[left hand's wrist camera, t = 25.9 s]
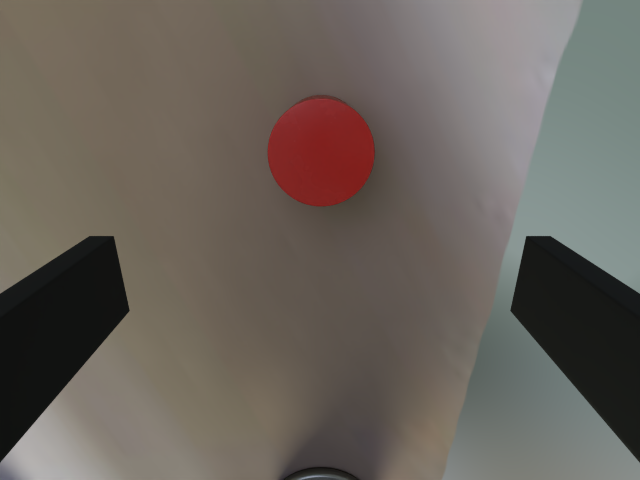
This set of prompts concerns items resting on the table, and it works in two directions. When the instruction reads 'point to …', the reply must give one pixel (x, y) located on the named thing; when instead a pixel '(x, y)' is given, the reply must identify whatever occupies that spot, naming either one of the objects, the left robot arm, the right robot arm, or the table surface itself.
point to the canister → (321, 151)
